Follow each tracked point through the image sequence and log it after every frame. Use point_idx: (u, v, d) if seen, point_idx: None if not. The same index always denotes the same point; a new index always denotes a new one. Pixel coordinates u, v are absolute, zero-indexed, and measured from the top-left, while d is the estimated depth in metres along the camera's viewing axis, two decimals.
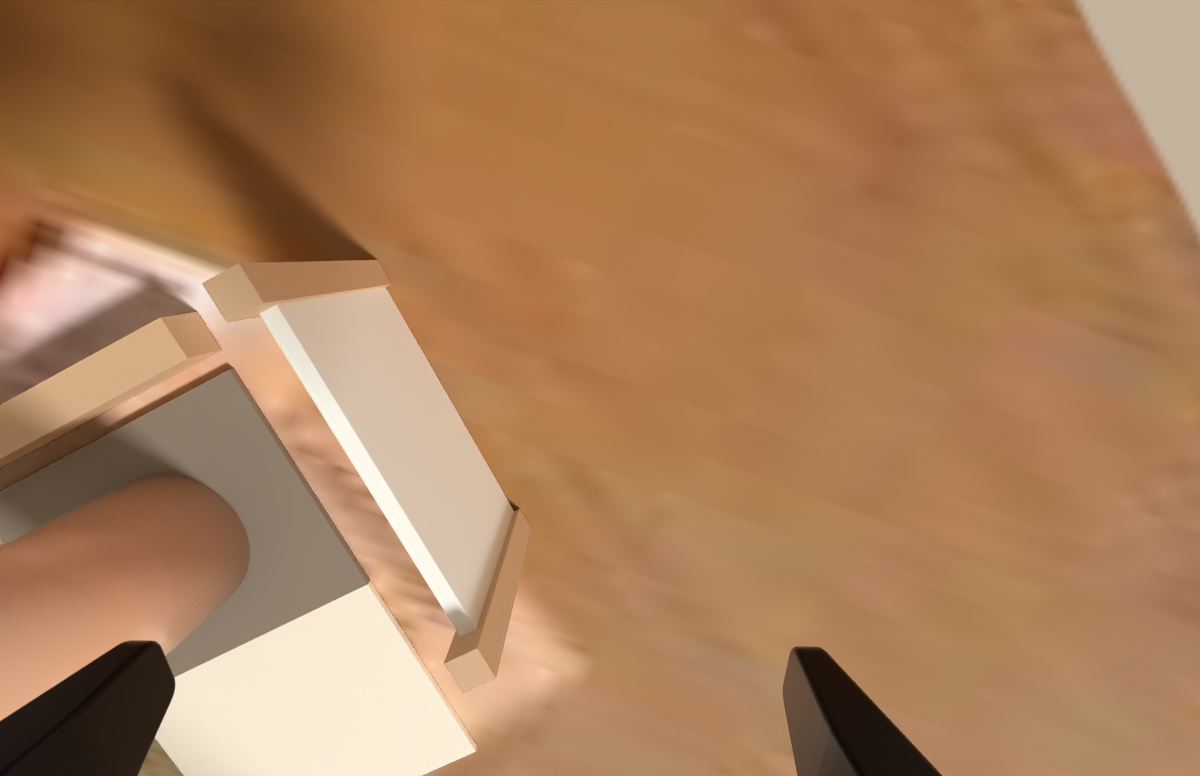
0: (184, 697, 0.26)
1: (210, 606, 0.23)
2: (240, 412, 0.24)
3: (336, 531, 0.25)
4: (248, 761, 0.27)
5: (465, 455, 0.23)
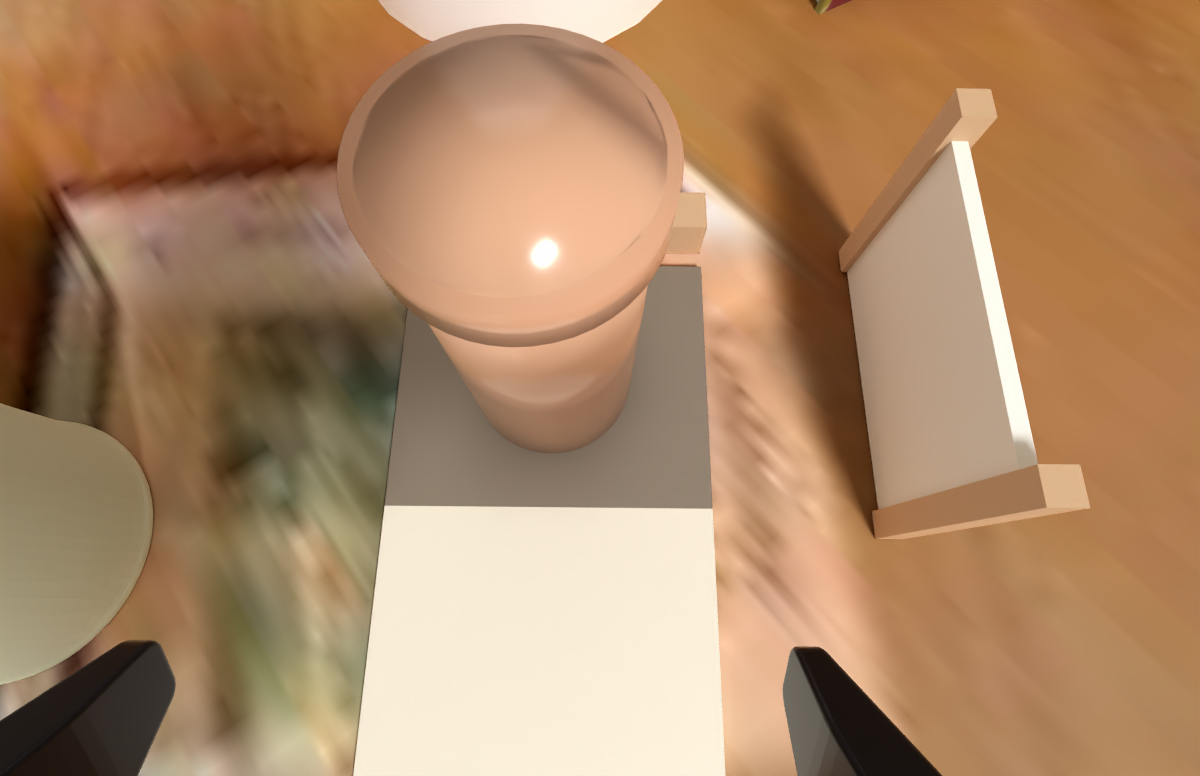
0: (445, 534, 0.22)
1: (600, 421, 0.21)
2: (688, 300, 0.25)
3: (708, 442, 0.24)
4: (453, 652, 0.21)
5: None
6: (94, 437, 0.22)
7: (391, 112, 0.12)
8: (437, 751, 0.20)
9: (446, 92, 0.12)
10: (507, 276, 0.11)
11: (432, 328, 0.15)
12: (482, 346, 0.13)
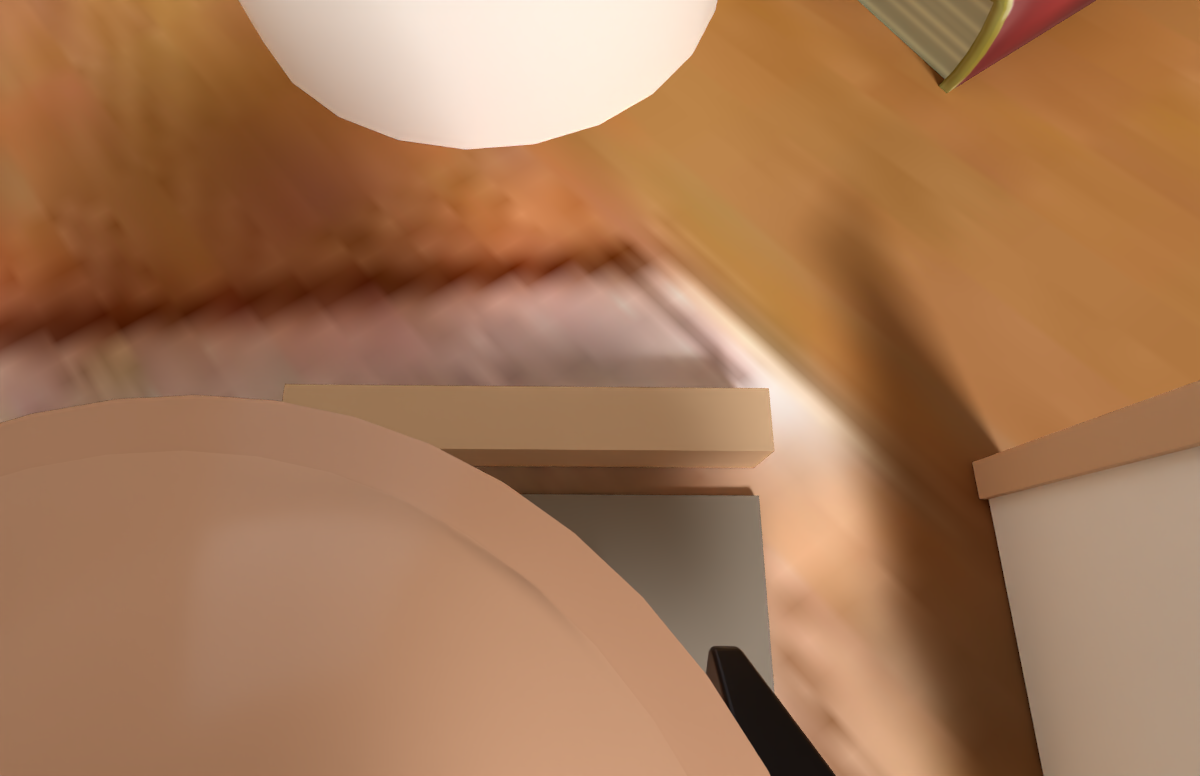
0: None
1: None
2: (741, 557, 0.16)
3: None
4: None
5: None
6: None
7: None
8: None
9: None
10: None
11: None
12: None
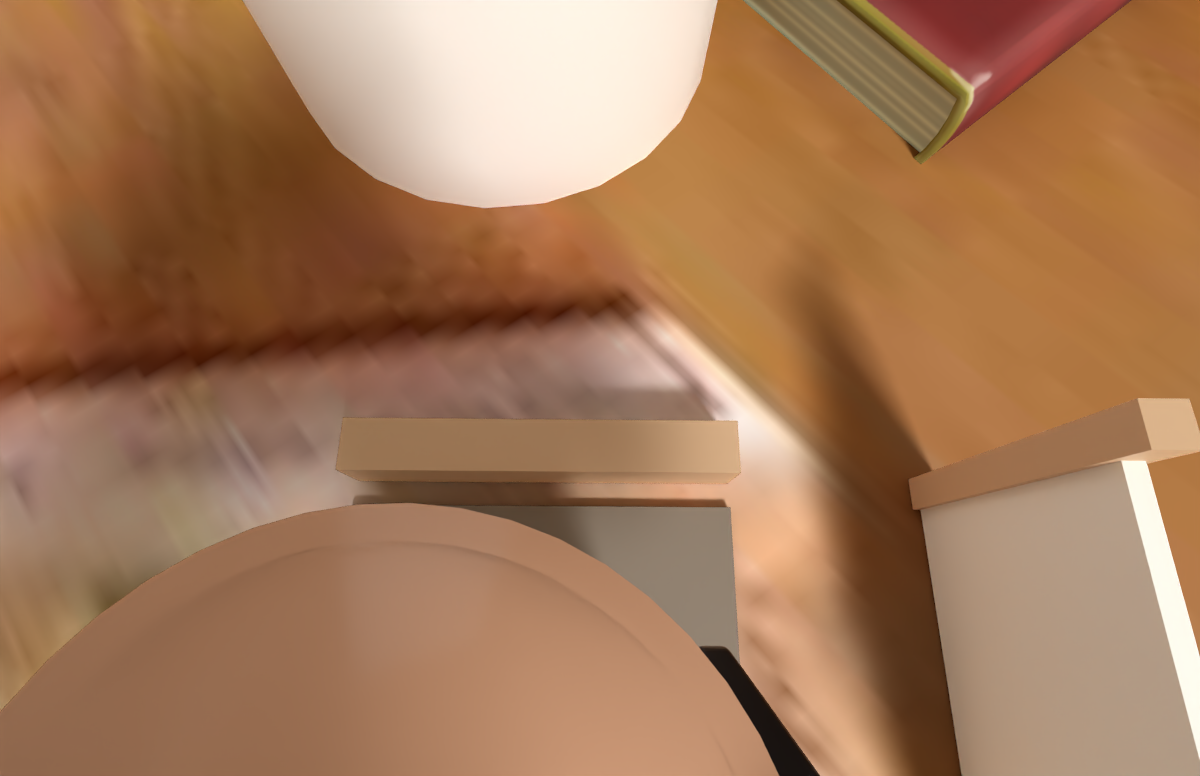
0: None
1: None
2: (715, 558, 0.19)
3: None
4: None
5: None
6: None
7: None
8: None
9: (191, 744, 0.05)
10: None
11: None
12: None
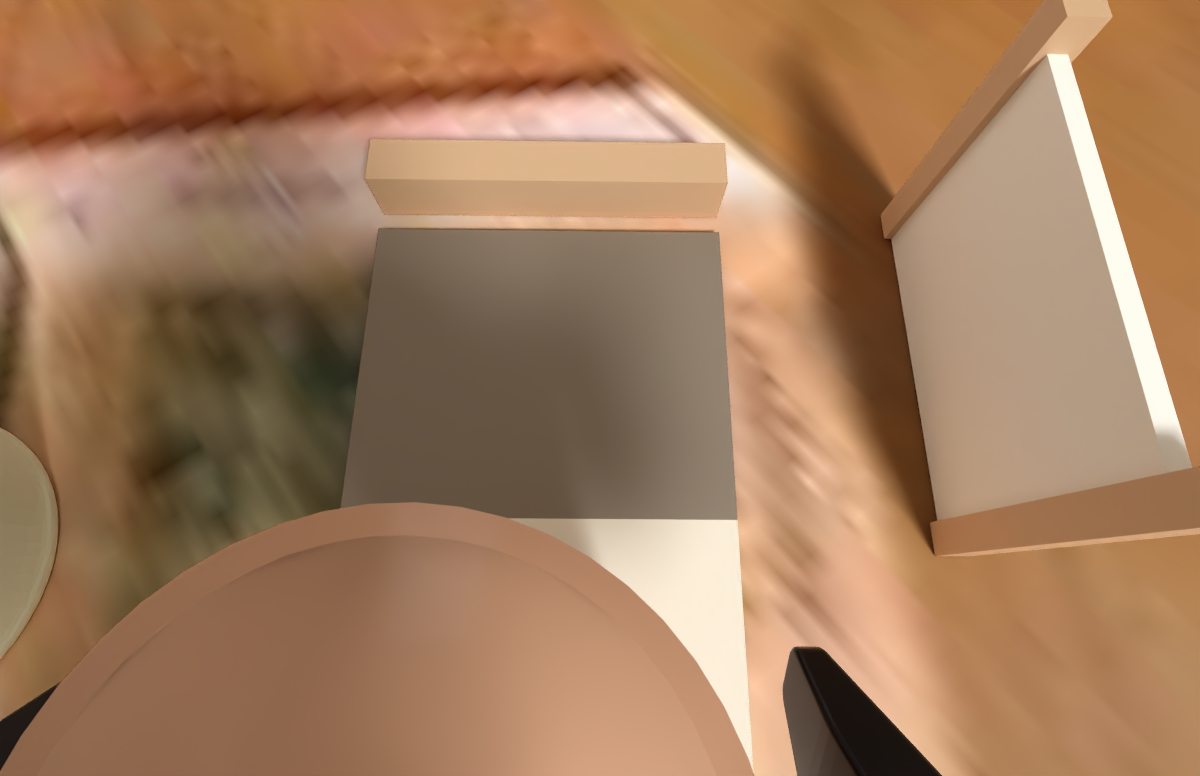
0: None
1: None
2: (705, 272, 0.21)
3: None
4: None
5: None
6: None
7: None
8: None
9: (224, 714, 0.05)
10: None
11: None
12: None
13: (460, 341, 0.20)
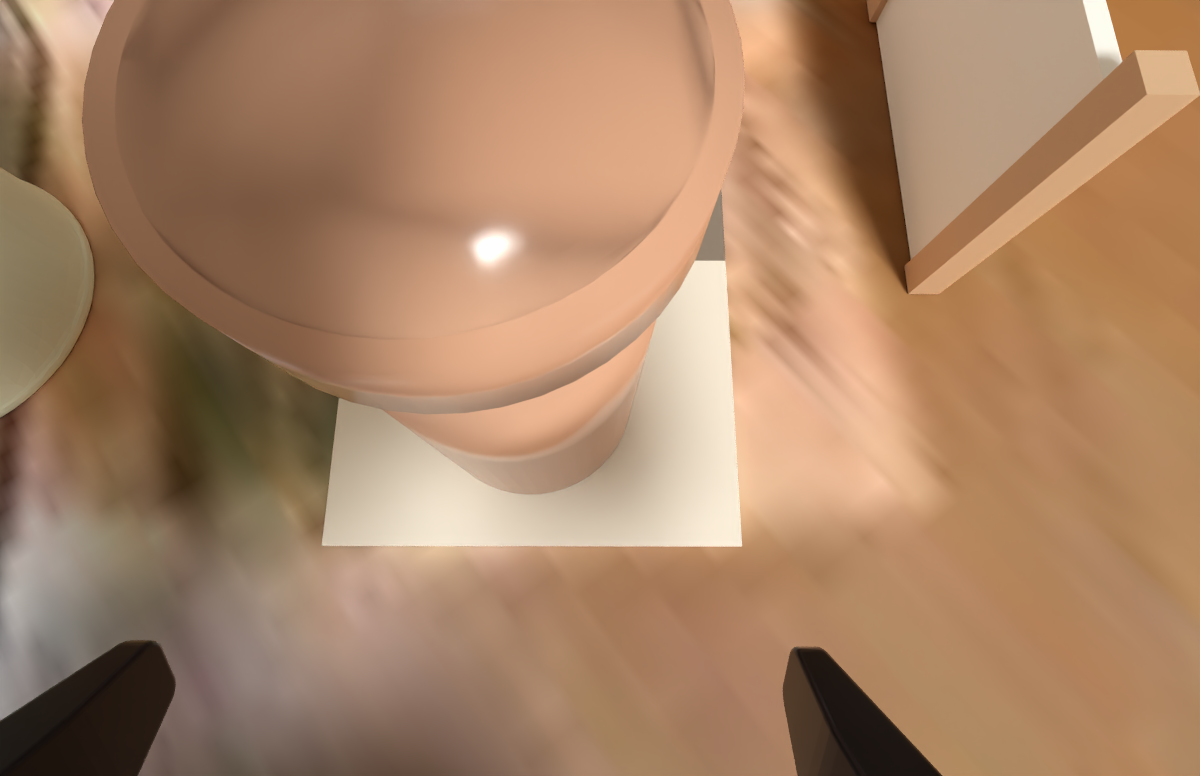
0: None
1: (592, 461, 0.16)
2: None
3: None
4: None
5: None
6: (22, 180, 0.20)
7: None
8: (417, 507, 0.18)
9: None
10: (402, 296, 0.06)
11: None
12: None
13: None
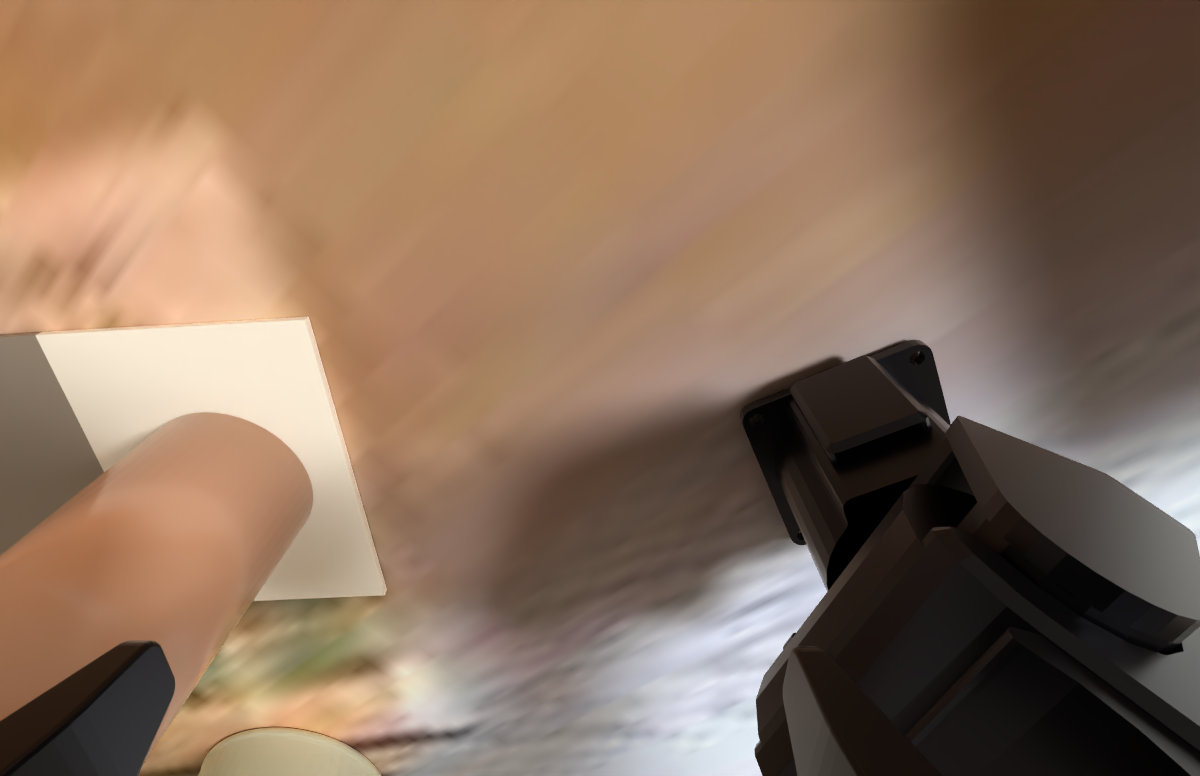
0: None
1: (245, 478, 0.20)
2: None
3: None
4: None
5: None
6: None
7: None
8: (342, 546, 0.24)
9: None
10: None
11: None
12: None
13: None
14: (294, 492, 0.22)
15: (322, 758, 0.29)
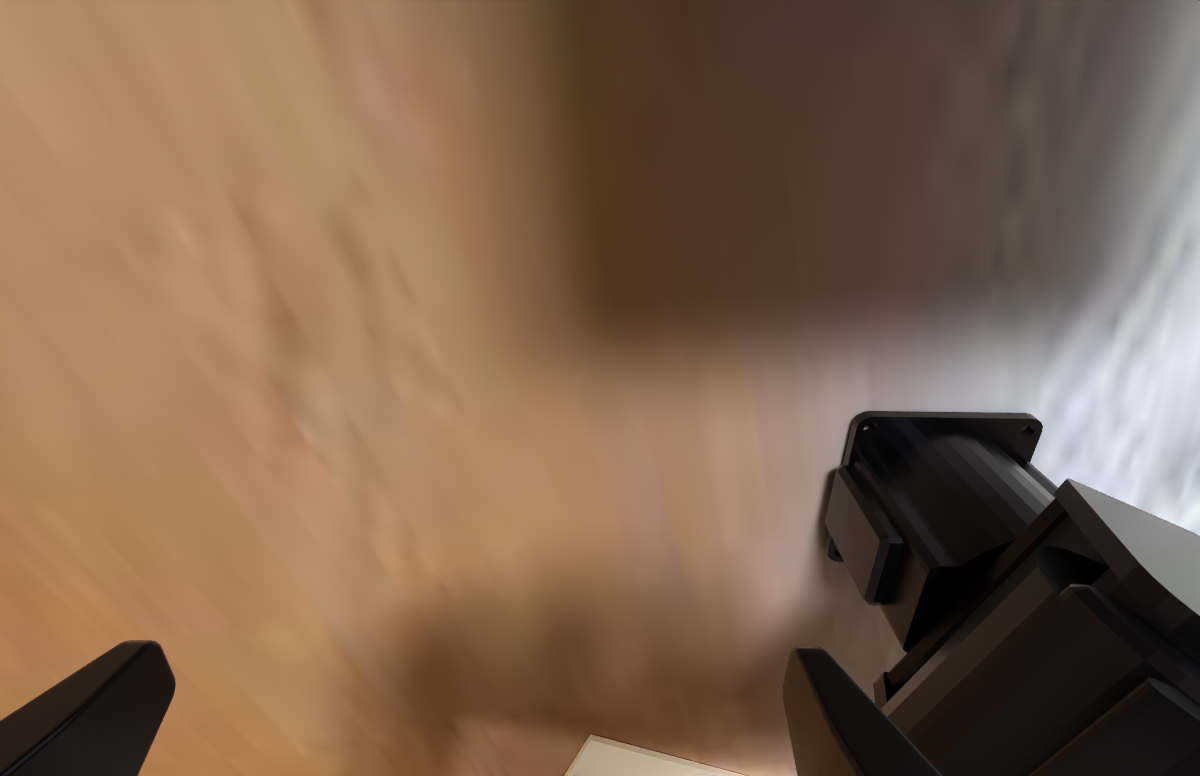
0: None
1: None
2: None
3: None
4: None
5: None
6: None
7: None
8: None
9: None
10: None
11: None
12: None
13: None
14: None
15: None
